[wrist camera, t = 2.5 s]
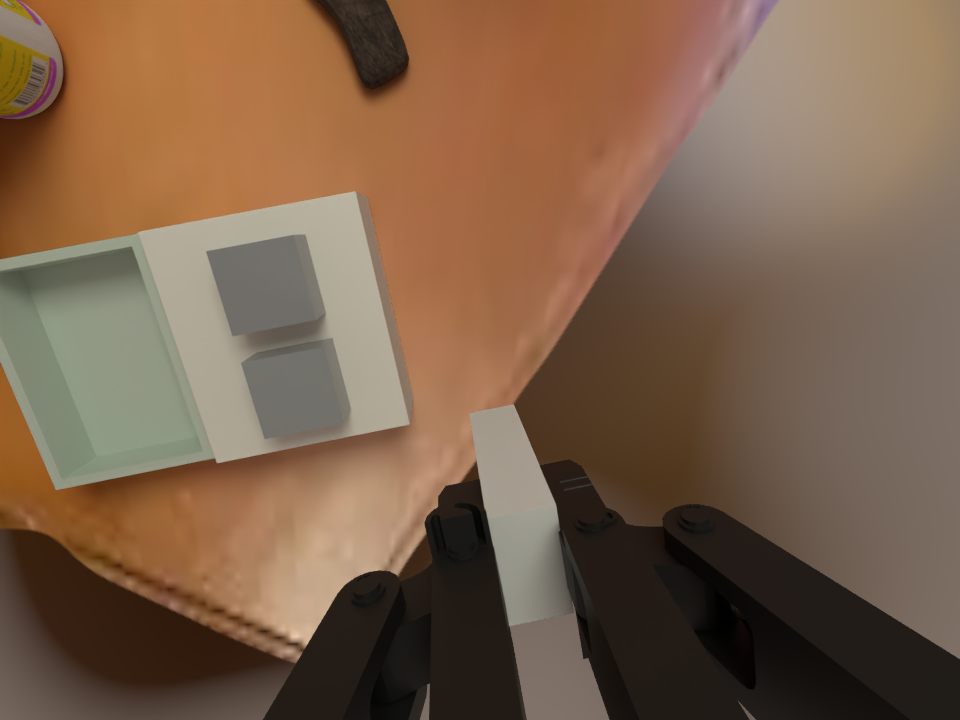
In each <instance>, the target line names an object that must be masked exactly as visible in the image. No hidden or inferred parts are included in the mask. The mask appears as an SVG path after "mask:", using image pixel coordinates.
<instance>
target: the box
mask: <svg viewBox="0 0 960 720" xmlns="http://www.w3.org/2000/svg"><path fill="white" fill-rule="evenodd" d="M0 362H1V364H2V367H3V369H4V371H5V374H6V376H7V378H8V381H9V383H10V385H11V387H12V390H13V392H14V394H15V397H16V399H17V401H18V404H19V406H20V408H21V410H22V413H23V415H24V417H25V420H26V422H27V424H28V427H29V429H30V431H31V434H32V436H33V438H34V440H35V443H36V445H37V447H38V450H39V452H40V454H41V457H42V459H43V461H44V463H45V466H46V468H47V470H48V473H49V475H50V477H51V480H52V482H53V484H54V486H55V489H56V490H59V489H64V488H69V487H74V486H79V485H84V484H89V483H94V482H99V481H104V480H109V479H114V478H119V477H124V476H129V475H134V474H139V473H144V472H149V471H154V470H159V469H164V468H169V467H174V466H179V465H184V464H189V463H194V462H198V461H203V460H208V459H213V458H215V456H214V453H213V450H212V447H211V445H210V442H209V439H208V436H207V433H206V430H205V427H204V424H203V421H202V418H201V415H200V412H199V409H198V406H197V404H196V401H195V398H194V395H193V392H192V389H191V386H190V383H189V380H188V377H187V374H186V371H185V368H184V365H183V363H182V360H181V357H180V354H179V351H178V348H177V345H176V342H175V339H174V336H173V333H172V330H171V327H170V325H169V322H168V319H167V316H166V313H165V310H164V307H163V304H162V301H161V298H160V295H159V292H158V289H157V286H156V284H155V281H154V278H153V275H152V272H151V269H150V266H149V263H148V260H147V257H146V254H145V251H144V248H143V245H142V243H141V240H140V237H139V234H134V235H128V236H123V237H118V238H112V239H107V240H102V241H96V242H91V243H86V244H80V245H75V246H70V247H64V248H59V249H54V250H48V251H43V252H37V253H32V254H27V255H21V256H16V257H11V258H5V259H0Z"/></svg>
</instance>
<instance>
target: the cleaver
mask: <svg viewBox="0 0 960 720" xmlns="http://www.w3.org/2000/svg"><path fill="white" fill-rule="evenodd" d="M318 1H319V2H320V3H321V4H322V5H323V6H324V7H325V8H326V10H327V11H328V12H329V13H330V14H331V15H332V16H333V17H334V19H335V20H336V22H337V24H338V25H339V27H340V28H341V30H342V32H343V33H344V35H345V38H346V41H347V43H348V46H349V48H350V51H351V53H352V56H353V59H354V62H355V65H356V68H357V71H358V74H359V76H360V78H361V80H362V82H363V84H364V85H365V86H366V87H368V88H371V89H374V88H376V87H379V86H381V85H383V84H385V83H386V82H388V81H389V80H391V79H393V78H394V77H395V76H397V75H398V74H400V73H401V72H402V71H403V70H404V69H405V68H406V67H407V66H408V61H409V56H408V53H407V49H406V45H405V43H404V40H403V38H402V35H401V33H400V30H399V28H398V26H397V23H396V21H395V19H394V17H393V15H392V12H391V10H390V8H389V6H388V4H387V2H386V0H318Z"/></svg>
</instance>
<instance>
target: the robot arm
mask: <svg viewBox="0 0 960 720" xmlns="http://www.w3.org/2000/svg"><path fill="white" fill-rule="evenodd" d="M469 415H470V421H471V427H472V433H473V440H474V446H475V452H476V458H477V465H478V471H479V477H480V479H478V480H473V481H468V482H463V483H458V484H453V485H448V486H445V488H444V489H443V491H442V492H441V494H440V495H439V496H438V508H436V509H434V510H433V511H432V512H431V513H430V514H429V515H428V516H427V518H426V520H425V528H426V532H427V536H428V540H429V544H430V548H431V553H432V563H431V564H430V566H429V567H427V568H426V569H425V570H423V571H422V572H421V573H419V574H417V575H415V576H413V577H411V578H409V579H406V580H404V581H402V582H400V581H399V579H398V577H397V575H395V574H393V573H391V572H390V571H374V572H368V573H365V574H363V575H360V576H358V577H356V578H354V579H353V580H351V581H350V582H349V583H347V584H346V585H345V586H344V587H343V588H342V589H341V590H340V592H339V593H338V594H337V596H336V597H335V599H334V601H333V603H332V604H331V606H330V608H329V609H328V611H327V613H326V614H325V616H324V618H323V619H322V621H321V623H320V624H319V626H318V628H317V629H316V631H315V633H314V635H313V636H312V638H311V640H310V641H309V643H308V645H307V646H306V648H305V650H304V651H303V653H302V655H301V656H300V658H299V660H298V661H297V663H296V665H295V667H294V668H293V670H292V672H291V674H290V675H289V677H288V678H287V680H286V682H285V684H284V685H283V687H282V688H281V690H280V692H279V693H278V695H277V697H276V699H275V700H274V702H273V704H272V705H271V707H270V709H269V710H268V712H267V714H266V715H265V718H264V719H263V720H420V716H421V713H422V709H423V706H424V703H425V699H426V693H427V684H429V683H430V707H429V708H430V711H429V720H527V719H526V714H525V708H524V703H523V697H522V692H521V686H520V681H519V676H518V669H517V664H516V658H515V653H514V647H513V642H512V637H511V632H510V627H509V626H513V625H518V624H522V623H527V622H532V621H537V620H541V619H546V618H551V617H555V616H560V615H565V614H570V613H573V612H574V611H573V605H572V601H573V604H574V607H575V610H576V616H577V622H578V628H579V635H580V640H581V647H582V652H583V659H585V658H589V661H590V664H591V667H592V670H593V672H594V676H595V679H596V682H597V684H598V687H599V690H600V693H601V696H602V699H603V702H604V705H605V708H606V710H607V714H608V716H609V719H610V720H749V718H748V717H747V715H746V713H745V712H744V710H743V709H742V707H741V705H740V704H739V702H740V703H741V704H742V705H743V706H744V707H745V708H746V709H747V710H748V711H749V713H750V714H751V715H752V716H753V717H754V718H755V719H756V720H960V659H958V658H957V657H955V656H954V655H952V654H950V653H949V652H947V651H946V650H944V649H942V648H941V647H939V646H938V645H936V644H934V643H933V642H931V641H930V640H928V639H926V638H924V637H923V636H922V635H920V634H918V633H917V632H915V631H914V630H912V629H910V628H909V627H907V626H905V625H904V624H902V623H901V622H899V621H897V620H896V619H894V618H892V617H891V616H889V615H888V614H886V613H885V612H883V611H881V610H880V609H878V608H877V607H875V606H873V605H872V604H870V603H869V602H867V601H865V600H864V599H862V598H860V597H859V596H857V595H856V594H854V593H852V592H851V591H849V590H848V589H846V588H844V587H843V586H841V585H839V584H838V583H836V582H834V581H833V580H832V579H830V578H828V577H827V576H825V575H823V574H822V573H820V572H819V571H817V570H815V569H814V568H812V567H811V566H809V565H808V564H806V563H804V562H803V561H801V560H799V559H798V558H796V557H795V556H793V555H791V554H790V553H788V552H787V551H785V550H783V549H782V548H780V547H778V546H777V545H775V544H774V543H772V542H771V541H769V540H767V539H766V538H764V537H763V536H761V535H759V534H757V533H756V532H754V531H753V530H751V529H750V528H748V527H746V526H745V525H743V524H742V523H740V522H738V521H737V520H735V519H734V518H732V517H730V516H729V515H727V514H726V513H724V512H722V511H720V510H718V509H715V508H713V507H710V506H704V505H699V504H693V505H691V504H689V505H683V506H679V507H675V508H673V509H671V510H669V511H668V512H667V513H666V514H665V515H664V517H663V518H662V520H663V527H644V526H633V525H629V524H626V523H625V521H624V520H623V518H622V517H621V516H620V515H619V514H618V513H617V512H616V511H614V510H611V509H608V508H606V506H605V505H604V503H603V502H602V500H601V498H600V496H599V495H598V493H597V492H596V490H595V488H594V486H593V485H592V484H591V481H590V480H589V478H588V477H587V475H586V473H585V471H584V470H583V468H582V466H580V465H578V464H577V463H575V462H573V461H571V460H564V461H560V462H554V463H550V464H545V465H540V466H539V463H538V461H537V459H536V456H535V454H534V452H533V449H532V447H531V444H530V442H529V440H528V437H527V435H526V433H525V430H524V428H523V426H522V423H521V421H520V419H519V416H518V414H517V411H516V409H515V407H514V404H513V405H508V406H503V407H498V408H493V409H488V410H483V411H478V412H473V413H469ZM571 598H572V599H571ZM737 700H738V701H739V702H738V701H737Z"/></svg>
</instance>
